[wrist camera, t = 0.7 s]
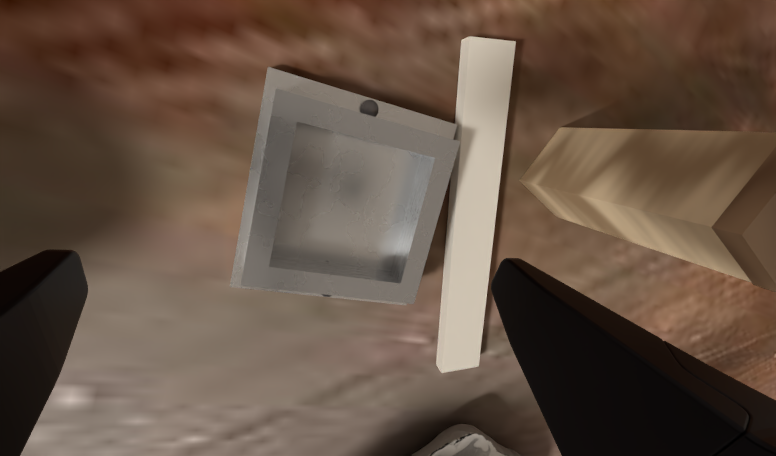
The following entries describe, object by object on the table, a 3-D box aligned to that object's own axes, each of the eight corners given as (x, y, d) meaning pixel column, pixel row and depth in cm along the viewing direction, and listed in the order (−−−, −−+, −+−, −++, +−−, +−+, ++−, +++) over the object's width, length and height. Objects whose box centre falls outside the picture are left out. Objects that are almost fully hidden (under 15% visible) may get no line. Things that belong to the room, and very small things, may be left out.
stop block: (556, 217, 27) (782, 294, 15) (518, 180, 25) (741, 234, 13) (595, 167, 27) (856, 204, 15) (560, 126, 25) (825, 131, 13)
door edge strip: (472, 358, 28) (478, 366, 27) (436, 364, 27) (441, 372, 26) (505, 44, 22) (515, 41, 21) (461, 39, 21) (469, 36, 20)
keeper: (403, 301, 25) (417, 320, 23) (231, 282, 21) (225, 302, 19) (452, 124, 23) (474, 125, 20) (268, 68, 19) (267, 60, 16)
